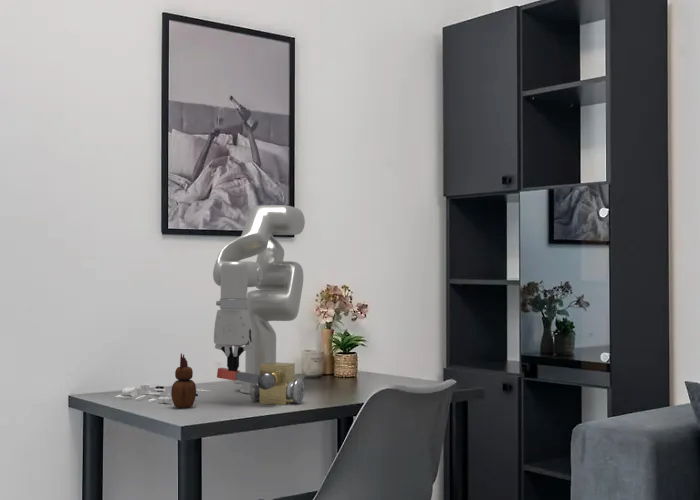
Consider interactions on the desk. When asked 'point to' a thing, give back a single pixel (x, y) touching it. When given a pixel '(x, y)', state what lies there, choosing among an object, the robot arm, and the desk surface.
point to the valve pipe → (279, 385)
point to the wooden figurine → (183, 386)
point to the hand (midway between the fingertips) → (233, 370)
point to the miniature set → (145, 388)
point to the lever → (248, 377)
